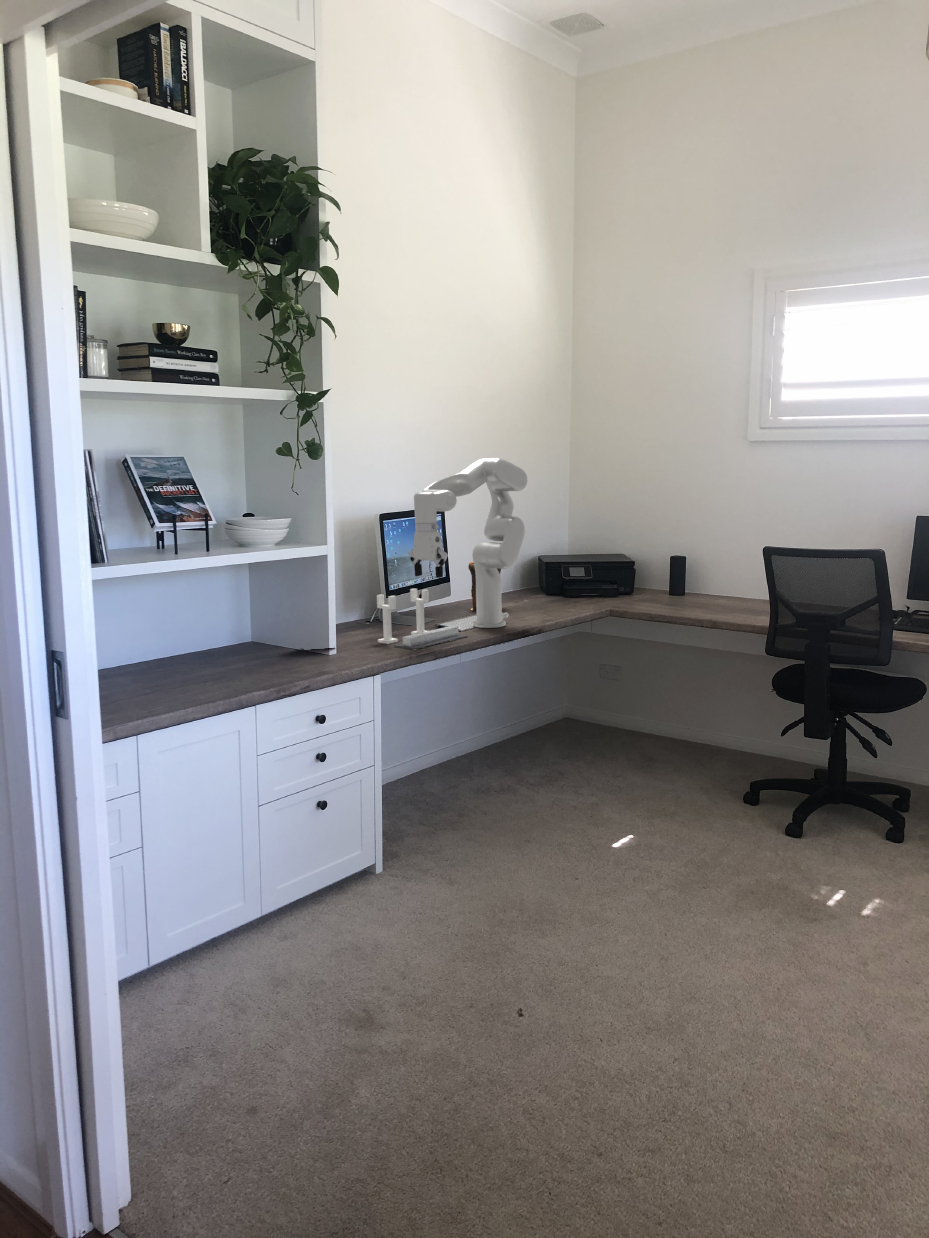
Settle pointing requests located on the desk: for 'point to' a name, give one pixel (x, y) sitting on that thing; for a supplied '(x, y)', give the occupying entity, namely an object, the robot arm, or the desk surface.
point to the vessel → (473, 590)
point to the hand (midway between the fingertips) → (428, 576)
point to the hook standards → (392, 605)
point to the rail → (430, 636)
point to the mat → (431, 642)
